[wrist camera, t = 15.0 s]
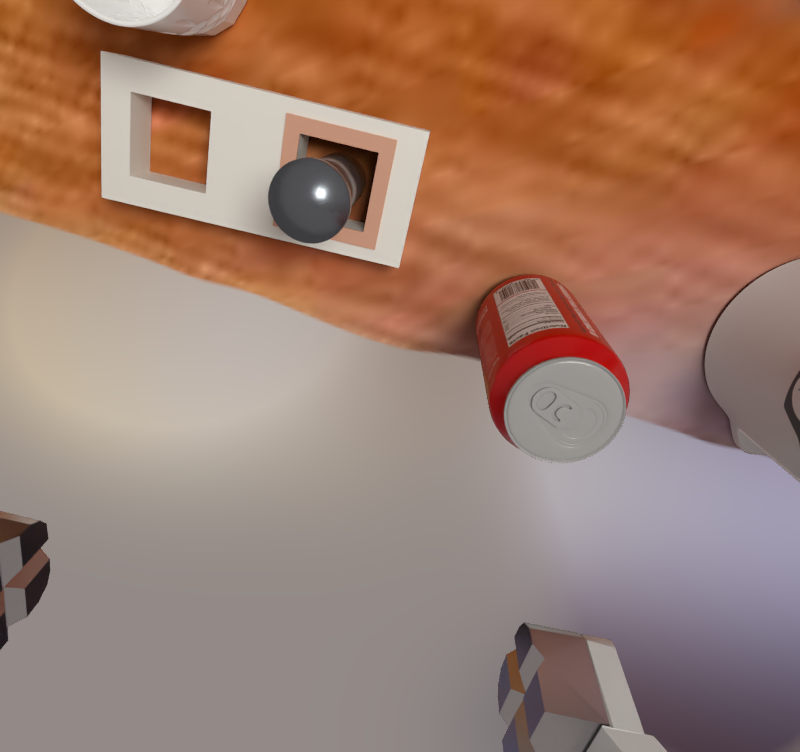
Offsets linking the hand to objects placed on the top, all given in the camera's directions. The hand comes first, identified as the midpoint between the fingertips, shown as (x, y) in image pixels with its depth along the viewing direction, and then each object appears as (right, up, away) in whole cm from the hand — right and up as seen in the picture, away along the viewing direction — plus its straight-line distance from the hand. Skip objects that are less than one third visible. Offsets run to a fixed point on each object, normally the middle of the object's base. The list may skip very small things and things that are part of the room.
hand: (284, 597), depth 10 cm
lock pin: (-2, +18, +31) cm, 35 cm away
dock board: (-7, +19, +30) cm, 37 cm away
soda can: (+12, +8, +34) cm, 37 cm away
